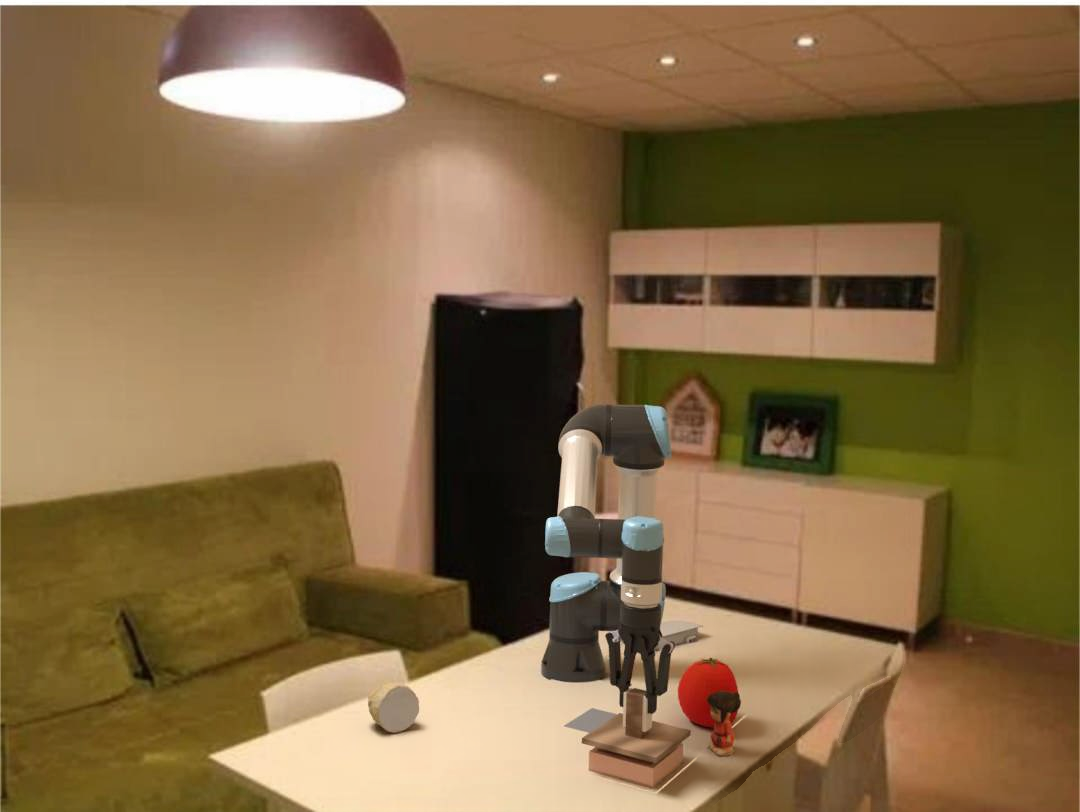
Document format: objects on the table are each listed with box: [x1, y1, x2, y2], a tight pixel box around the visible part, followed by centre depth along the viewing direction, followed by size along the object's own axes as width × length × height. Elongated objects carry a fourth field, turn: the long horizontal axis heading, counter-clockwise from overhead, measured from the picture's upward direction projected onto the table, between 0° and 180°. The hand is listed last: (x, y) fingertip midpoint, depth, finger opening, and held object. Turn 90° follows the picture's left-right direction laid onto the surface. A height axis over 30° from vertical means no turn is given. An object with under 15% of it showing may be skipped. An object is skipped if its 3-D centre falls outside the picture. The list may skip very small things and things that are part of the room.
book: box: [620, 620, 704, 651], centre depth 273 cm, size 15×23×4 cm, turn 131°
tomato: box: [677, 657, 739, 729], centre depth 215 cm, size 13×11×14 cm
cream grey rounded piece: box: [367, 681, 420, 734], centre depth 211 cm, size 10×10×10 cm
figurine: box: [707, 690, 742, 757], centre depth 203 cm, size 6×6×12 cm
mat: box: [563, 707, 619, 734], centre depth 214 cm, size 12×12×1 cm
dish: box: [588, 743, 684, 789], centre depth 194 cm, size 13×13×4 cm
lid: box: [581, 687, 692, 763], centre depth 193 cm, size 15×15×9 cm
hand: (637, 726), depth 193 cm, fingers closed on lid, 3 cm apart
